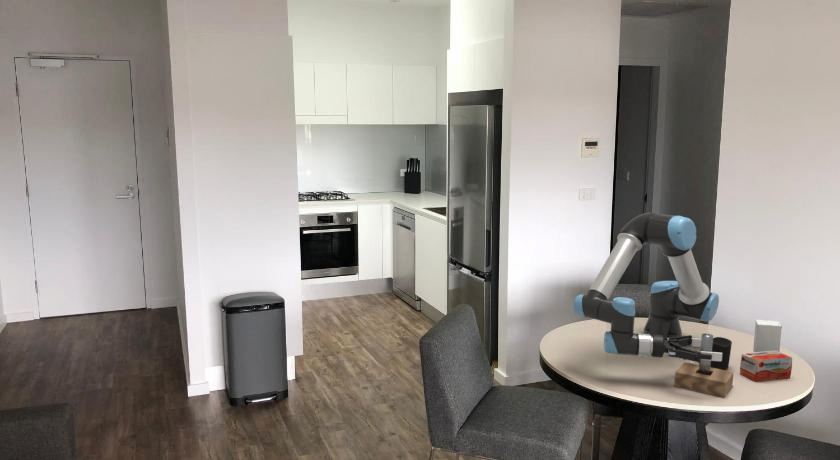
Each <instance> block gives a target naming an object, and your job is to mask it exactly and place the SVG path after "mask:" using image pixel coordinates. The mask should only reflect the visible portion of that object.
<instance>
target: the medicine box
mask: <svg viewBox="0 0 840 460" xmlns="http://www.w3.org/2000/svg"><path fill="white" fill-rule="evenodd" d="M792 369H793V357H792V356H789V355H787V354H785V353H782V352H778V351H776V350H774V351H763V352H753V351H752V352H746V353H745V352H744V353H743V352H742V353H741V356H740V367H739V374H740V375H741V376H743V377H745V378H747V379H750V380H752V381H753V382H757V383H758V382H765V381H767V382H768V381H775V380H776V381H777V380H788V379H791V376H792Z"/></svg>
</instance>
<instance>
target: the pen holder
mask: <svg viewBox="0 0 840 460" xmlns="http://www.w3.org/2000/svg"><path fill="white" fill-rule="evenodd" d="M732 343H733V341H732V340H730V339H729V338H726V337H722V336H715V337H713V345H712V352H719V353H722V361H711V368H716V369H721V370H726V371H727V370H728V369H729V366H730V365H729V364H730V359H731V351H732Z"/></svg>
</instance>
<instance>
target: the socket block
mask: <svg viewBox="0 0 840 460" xmlns="http://www.w3.org/2000/svg"><path fill="white" fill-rule="evenodd" d="M698 371H699V364H698V363H697V364H696V363H691V362H687V361H684V362H683V363H682V364H681V365H680V366H679V367H678V368H677V369H676V371H675V372H674V384H673V386H674V387H677V388H681V389H686V390H690V391H694V392H698V393H702V394H703V393H704V394H708V395H711V396H716V397H719V398H720V397H721V398H726V396H727V394H728V393H729V391H730V390H731V389H732V387H733V382H734V371H730V370H727V369H726V370H721V369H716V368H711V367H710V376H709V375H704V374H700V373H698Z"/></svg>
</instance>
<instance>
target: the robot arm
mask: <svg viewBox="0 0 840 460" xmlns="http://www.w3.org/2000/svg"><path fill="white" fill-rule="evenodd" d="M616 239H617V242H616V244H615V245H614V246H613V248H612V250H611V252H610V254H609V255H608V257H607V259H606V261H605V263H604V264H603V266H602V267H601V269H600V271H599V272H598V274H597V276H596V278H595V279H594V281H593V283H592V284H591V286H590V288H589V290H588V291H587V293H586V294H578V295H576V297H575V299H574V301H573V304H572V305H573V306H572V307H573V311H574V313H575V314H576V315H578V316H580V317H584V318H587V319H593V320H597V321H600V322H605V323H608V324H610V330H609V331H605V332H604V334H603V335H604V336H603V350H604V352H605V353H606V354H611V355H612V354H613V355H620V356H621V355H623V356H636V357H637V356H639V357H640V358H643V357H650V356H651V357H652V358H662V357H664V354H665V353H666V354H668V355H667V357H670V358H678V359H681V360H686V361H691V362H695V363H697V364H699V363H700V362H701V360H709V361H722V353H719V352H705V351H701V352H700V351H697V350H693V349H689V348H686V347H688V346H691V347H695V348H696V347H697V348H701V338H696V337H695V338H693V336H692V335H683V330H682V326H681V323H680V320H679V319H680V317H685V318H688V319H693V320H698V321H700V322H701V321H703V322H710V321H712V320H713V318H715V315H716V314H717V311H718V307H719V303H720V297H719V294H718V293H715V292H711V291H710V288H709V286H708V285H707V284H706V283H704V281H703V280H702V277H701V275H700V272H699V270H698V266H697V263H696V261H695V258H694V257H695V256H694V254H693V251H692V248H693V247H694V245H695V243H696V241H697V227H696V225H695V223H694V221H693V220H692V219H691V218H689V217H685V216H682V215H672V214H671V215H670V214H662V213H655V212H645V213H642V214H639V215H638V216H635V217H634V218H632V219H631V220H630V221H629V222H627V223H626V224H625V225H624V226H623V228H622V229H621V230H620V232H618V235H617V238H616ZM646 244H647V245H652V246H657V247H658V248H659V249H660V251H661V253H662V255H664V256H665V257H667V259H668V261H669V263H670V266H671V268H672V271H673V275H674V277H675V280H660V281H655V282H653V283H652V285H651V289H650V292H649V293H650V300H649V313H648V314H649V315H648V319H647V320H646V323H645V325H644V328H643V333H636V332H635V333H634V331H635V330H634V328H635V315H636V302H635V300H634V299H632V298H630V297H623V296H618V297H617V296H616V297H614V298H613V299H612V300H610V297H611V296H612V294H613V292H614V291H615V289H616V287H617V285H618V284H619V282H620V280H622V279H621V278H622V277H623V275H624V273H625V272H626V269H627V268H628V267H629V265H630V263H631V261H632V259H633V258H634V256H635V254H636V253H637V252H638V251H640V250H642V248H643V246H644V245H646Z"/></svg>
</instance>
